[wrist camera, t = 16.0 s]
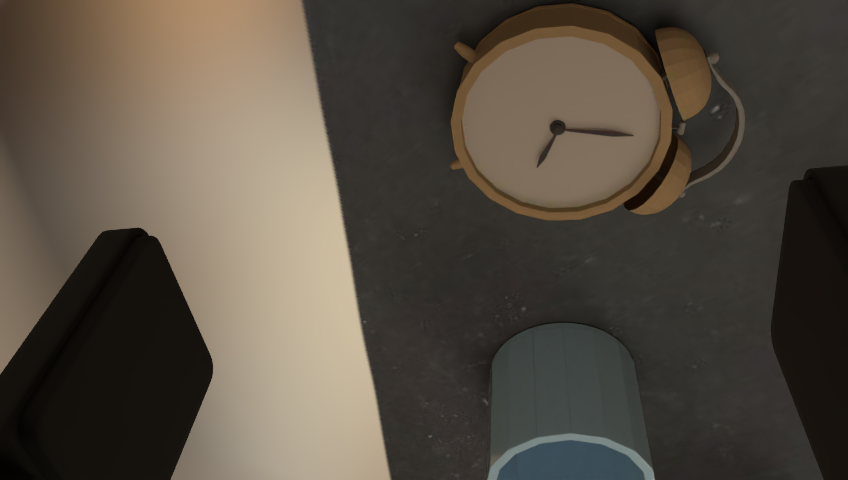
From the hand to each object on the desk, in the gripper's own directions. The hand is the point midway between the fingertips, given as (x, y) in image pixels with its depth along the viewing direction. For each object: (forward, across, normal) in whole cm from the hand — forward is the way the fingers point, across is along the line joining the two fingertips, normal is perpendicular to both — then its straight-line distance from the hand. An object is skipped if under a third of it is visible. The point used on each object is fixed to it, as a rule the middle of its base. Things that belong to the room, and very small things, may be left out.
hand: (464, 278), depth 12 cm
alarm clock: (+30, -4, +13) cm, 33 cm away
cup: (+30, -1, +34) cm, 46 cm away
